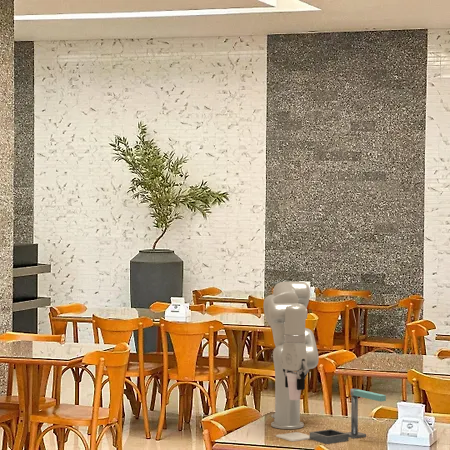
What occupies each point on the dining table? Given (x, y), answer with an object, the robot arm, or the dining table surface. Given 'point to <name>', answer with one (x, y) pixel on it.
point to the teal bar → (368, 395)
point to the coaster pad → (294, 436)
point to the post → (354, 419)
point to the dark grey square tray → (329, 436)
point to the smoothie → (293, 385)
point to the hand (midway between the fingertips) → (294, 387)
